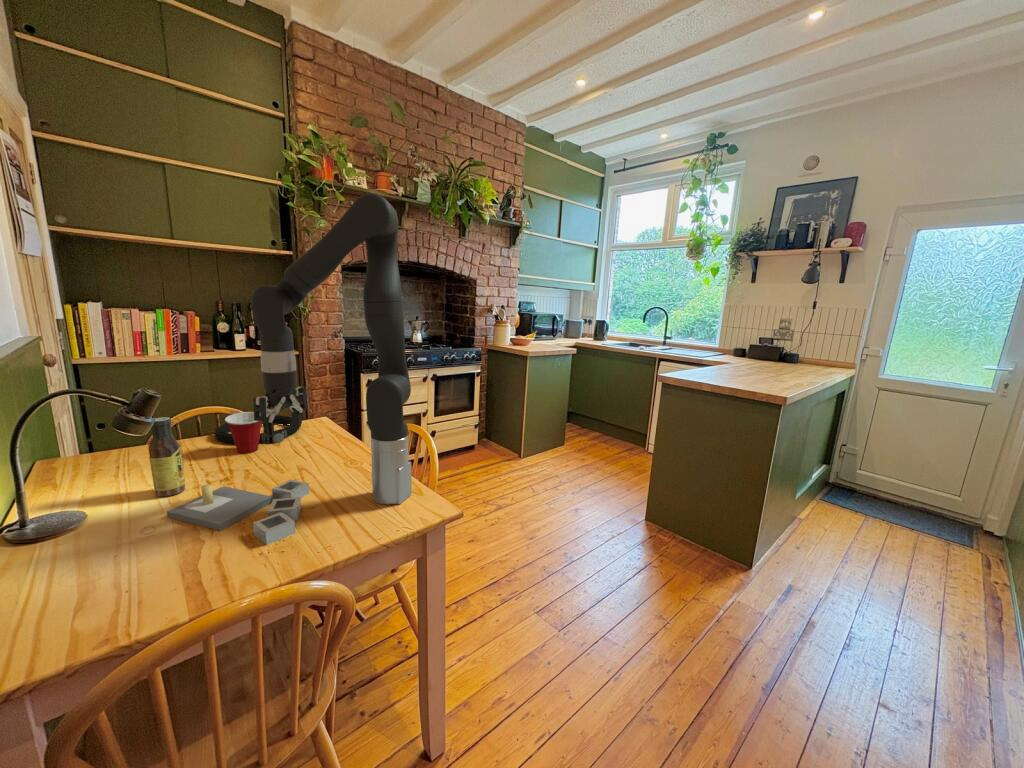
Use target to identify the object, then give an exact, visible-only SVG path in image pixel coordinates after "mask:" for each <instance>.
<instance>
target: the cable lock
mask: <svg viewBox="0 0 1024 768" xmlns="http://www.w3.org/2000/svg"><path fill="white" fill-rule="evenodd" d="M269 415H270V414H269ZM269 415H268V417H269ZM272 422H274V425H276V424H277V425H285V427H284V428H280V429H276V430H275V429H274V436H273V437H267V436H265V435H264V432H260V439H259V444H269V443H271V442H272V444H280V443H282V442H283V441H284V440H285V439H287V438H288V437H290V436H292V435H295V434H296V433H297V432H298V431H299V430H300V427H301V426H300V427H294V426H293V425H292V416H288V415H280V414H276V415H275V417H274V419H273V421H272ZM287 424H290V425H288V426H287ZM261 425H263V423H262V424H261ZM295 432H296V433H295ZM213 435H214V438H215V439H216V440H217V441H218V442H222V443H224V444H231V445H235V443H234V440H233V437H232V434H231V431H230V428H229V426H228V423H227V422H224V423H223V424H220V425H219V426H218V427H217V428H216V429H215V430H214V432H213ZM289 435H290V436H289ZM270 441H271V442H270Z"/></svg>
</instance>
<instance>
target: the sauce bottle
mask: <svg viewBox="0 0 1024 768" xmlns="http://www.w3.org/2000/svg"><path fill="white" fill-rule="evenodd" d="M154 419H155V423H154V425H153V426H152V427H151V431H152V433H151V434H152V435H151V436H152V439H151V441H150V442H149V445H148V454H149V464H150V469H151V476H152V483H153V489H154V490H155V495H156V496H158V497H165V498H166V497H171V496H175V495H178V494H180V493H182V492H184V490H185V489H186V479H185V470H184V465H183V464H184V463H183V457H182V456H183V455H182V450H181V449H182V448H181V445H180V443H179V442H178V440H177V439H176V437H175V435H174V434H173V431H172V425H171V424H172V421H171V418H170V417H169V416H168V417H166V416H163V417H161V416H160V417H155V418H154Z"/></svg>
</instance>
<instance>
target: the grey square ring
mask: <svg viewBox="0 0 1024 768" xmlns="http://www.w3.org/2000/svg"><path fill="white" fill-rule="evenodd" d="M271 492H272V493H271V496H272V500H273V499H283V498H293V497H301V499H302V498H304V497H305V496H307V495H309V494H310V483H309V482H305V481H302V480H297V479H289V480H287V481H285V482H283V483H281V484H279V485H277V486H274V487H272V488H271Z"/></svg>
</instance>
